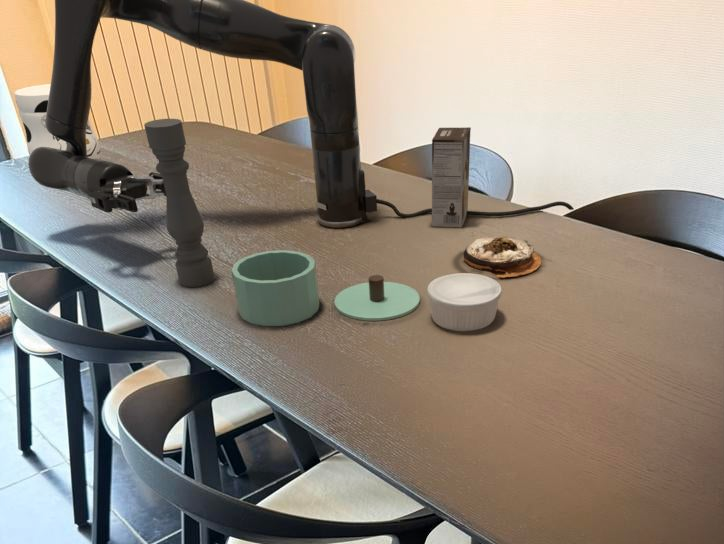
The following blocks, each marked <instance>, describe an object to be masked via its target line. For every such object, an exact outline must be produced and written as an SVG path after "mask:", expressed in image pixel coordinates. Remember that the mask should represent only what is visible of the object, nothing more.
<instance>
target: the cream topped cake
mask: <svg viewBox="0 0 724 544" xmlns="http://www.w3.org/2000/svg"><path fill="white" fill-rule="evenodd" d="M534 250H535V249H534V247H533V244H530V243H529V240H526V239H521V238H518V237H512V236H490V237H489V236H488V237H480V238H476V239H474V240H473V241H471V242H470V243H468V245H467V246H466V248H465V249H464V251H463V259H464V260H463V262H464V263H465V264H466V265H468V266H469V267H471V268H473V269H478V270H481V271H485V272H489V273H490V274H492V275H493V276H494V277H496V278H498V279H502V278H503V279H505V278H507V277H508V278H510V277H519V276H523V275H527V274H530V273H533V272H534V271H536V270H537V269H538V268H539V267H540V266H541V264H542V258H541V257H540V256H539V254H538V253H536V252H535V251H534Z"/></svg>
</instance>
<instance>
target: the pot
mask: <svg viewBox="0 0 724 544" xmlns="http://www.w3.org/2000/svg"><path fill="white" fill-rule="evenodd" d="M230 272H231V277H232V282H233V289H234V292H235V293H234V294H235V299H236V303H237V304H236V305H237V310H238V314H239V315H240V317H241V319H242V320H243V321H245V322H248V323H250V324H252V325H257V326H262V327H284V326H289V325H293V324H297V323H301V322H303V321H305V320H308V319H310V318H312V317H313V316H314V315H315V314H316V313H317V312H318V311H319V310H320V308H319V307H320V302H321V301H320V294H319V284H318V274H317V264H316V260H315V259H314V258H313V257H312V256H311V255H310V254H307V253H304V252H302V251H296V250H288V249H284V250H283V249H282V250H281V249H279V250H267V251H262V252H257V253H253V254H251V255H247V256H244V257H242V258H240V259H239V260H237V261H236V262H235V263H234V264H233V266H232V268H231V271H230Z"/></svg>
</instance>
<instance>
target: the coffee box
mask: <svg viewBox="0 0 724 544" xmlns="http://www.w3.org/2000/svg"><path fill="white" fill-rule="evenodd" d="M471 130H472V127H438V129H437V130H436V132H435V134H434V136H433V137H432V139H431V208H432V212H431V227H432V228H433V227H434V228H435V227H438V228H440V227H441V228H462V227H463V226H464V223H465V221H466V218H467V215H466V213H467V211H469V209H468V208H469V184H470V182H469V180H470V155H471V154H470V151H471Z"/></svg>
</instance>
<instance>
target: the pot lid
mask: <svg viewBox="0 0 724 544" xmlns="http://www.w3.org/2000/svg"><path fill="white" fill-rule="evenodd" d="M420 302H421V298H420V294H419V292H418V291H417V290H416V289H415V288H412V286H409V285H406V284H403V283H399V282H394V281H393V282H392V281H385V278H384V276H383V275H380V274H373V275H370V276H368V282H362V283H358V284H354V285H351V286H349V287H346V288H344V289H343V290H341V291H340V292H338V293H337V294H336V296H335V297H334V302H333V303H334V308H335V310H336V311H337V312H338V313H339V314H341V315H343V316H345V317H347V318H350V319H352V320H353V319H354V320H359V321H367V322H380V321H381V322H382V321H389V320H393V319H394V320H395V319H398V318H401V317H402V318H403V317H405V316H407V315H409V314H410V313H412V312H414V311H415V310H416V309H417V308H418V307H419V305H420Z"/></svg>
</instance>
